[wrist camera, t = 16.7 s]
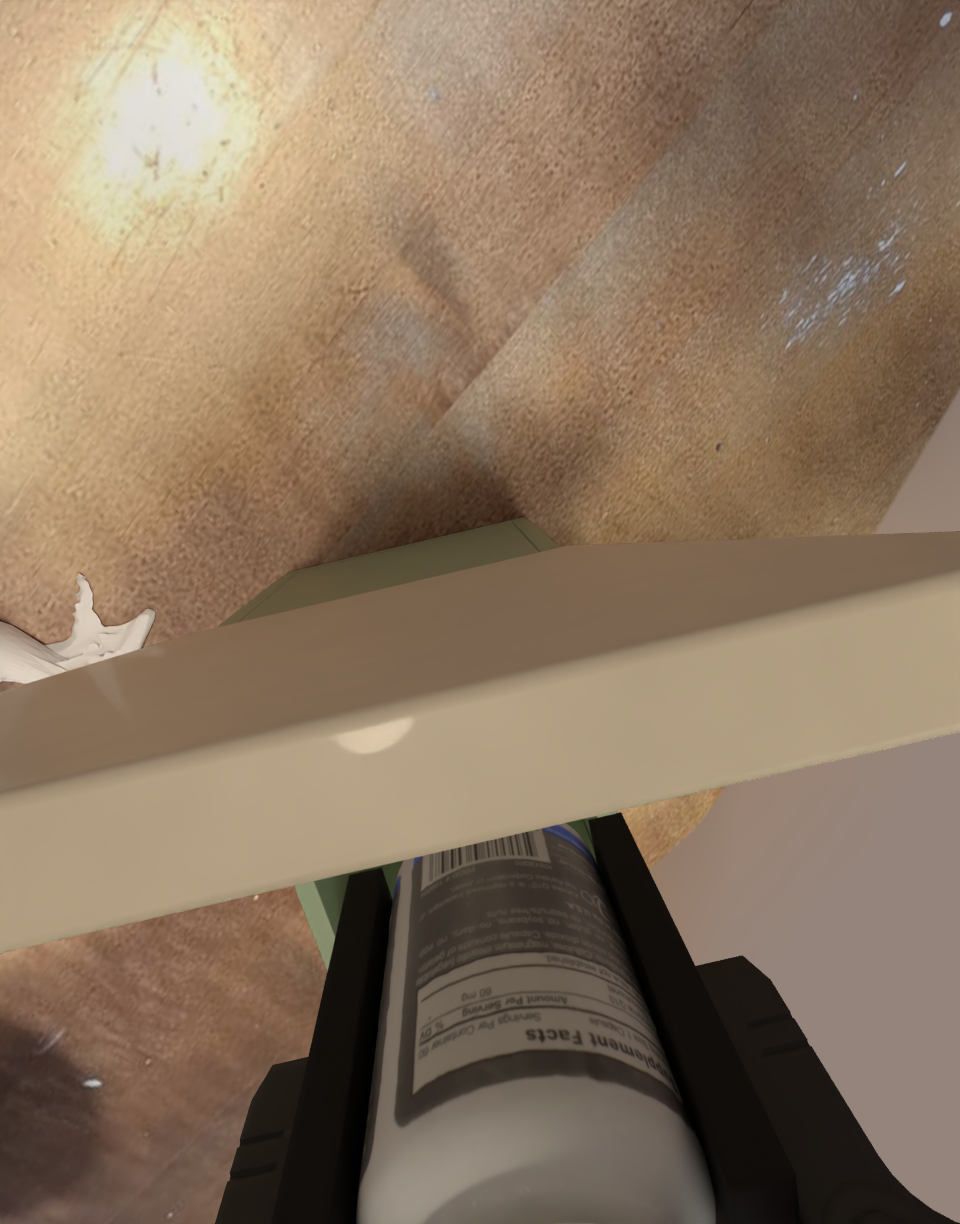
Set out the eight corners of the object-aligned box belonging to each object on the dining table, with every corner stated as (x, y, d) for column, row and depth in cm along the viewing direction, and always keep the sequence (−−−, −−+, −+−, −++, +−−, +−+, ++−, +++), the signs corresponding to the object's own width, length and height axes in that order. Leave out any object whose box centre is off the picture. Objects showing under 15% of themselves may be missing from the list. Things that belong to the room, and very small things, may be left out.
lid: (1197, 685, 3) (1182, 520, 3) (-1336, 1269, 3) (-1443, 1130, 3) (576, 569, 18) (571, 544, 18) (194, 658, 18) (187, 634, 18)
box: (574, 761, 33) (634, 905, 22) (365, 809, 33) (328, 975, 23) (525, 516, 29) (571, 554, 18) (286, 572, 29) (196, 641, 18)
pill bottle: (534, 988, 14) (651, 1716, 6) (361, 922, 13) (224, 1670, 5) (636, 843, 13) (945, 1488, 5) (455, 762, 12) (471, 1383, 4)
